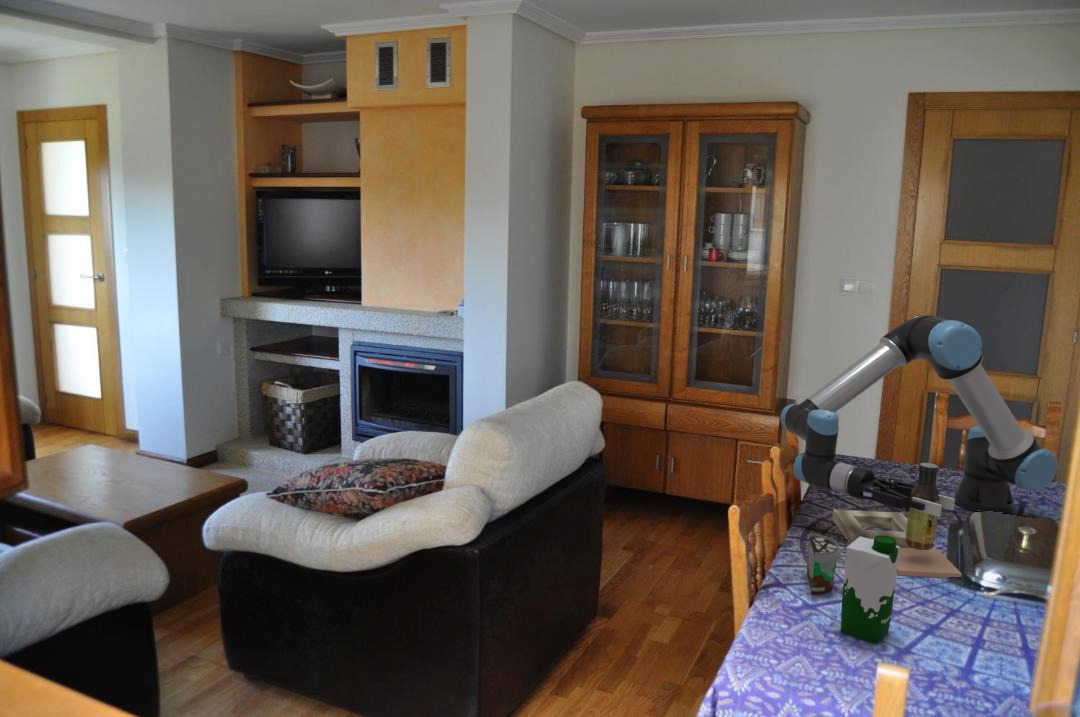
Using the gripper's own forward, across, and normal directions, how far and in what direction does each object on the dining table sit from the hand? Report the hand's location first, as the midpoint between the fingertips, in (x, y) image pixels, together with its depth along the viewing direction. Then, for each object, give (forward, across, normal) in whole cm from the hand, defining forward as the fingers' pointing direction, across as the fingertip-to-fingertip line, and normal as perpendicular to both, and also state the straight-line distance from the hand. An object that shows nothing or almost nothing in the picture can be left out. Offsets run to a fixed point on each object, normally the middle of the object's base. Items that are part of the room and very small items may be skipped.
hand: (946, 507), depth 195 cm
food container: (-13, +29, -16) cm, 35 cm away
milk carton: (+4, +41, -16) cm, 44 cm away
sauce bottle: (-5, 0, -11) cm, 12 cm away
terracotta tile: (-5, 0, -16) cm, 16 cm away
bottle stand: (-21, -10, -16) cm, 28 cm away
